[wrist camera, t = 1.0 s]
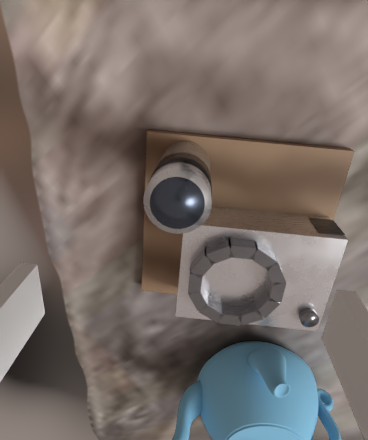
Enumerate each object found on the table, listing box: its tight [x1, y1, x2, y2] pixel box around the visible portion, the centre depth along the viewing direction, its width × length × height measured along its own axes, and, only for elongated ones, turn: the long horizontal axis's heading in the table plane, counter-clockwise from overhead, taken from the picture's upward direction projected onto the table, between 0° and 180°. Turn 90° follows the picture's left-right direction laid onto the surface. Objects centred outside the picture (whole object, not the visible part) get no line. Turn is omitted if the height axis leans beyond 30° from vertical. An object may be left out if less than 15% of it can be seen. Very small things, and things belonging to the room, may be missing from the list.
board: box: [142, 130, 354, 294], centre depth 36 cm, size 19×20×1 cm
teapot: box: [172, 341, 341, 440], centre depth 41 cm, size 17×19×12 cm
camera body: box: [176, 206, 348, 331], centre depth 34 cm, size 11×15×6 cm
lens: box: [143, 141, 212, 234], centre depth 28 cm, size 5×5×10 cm
